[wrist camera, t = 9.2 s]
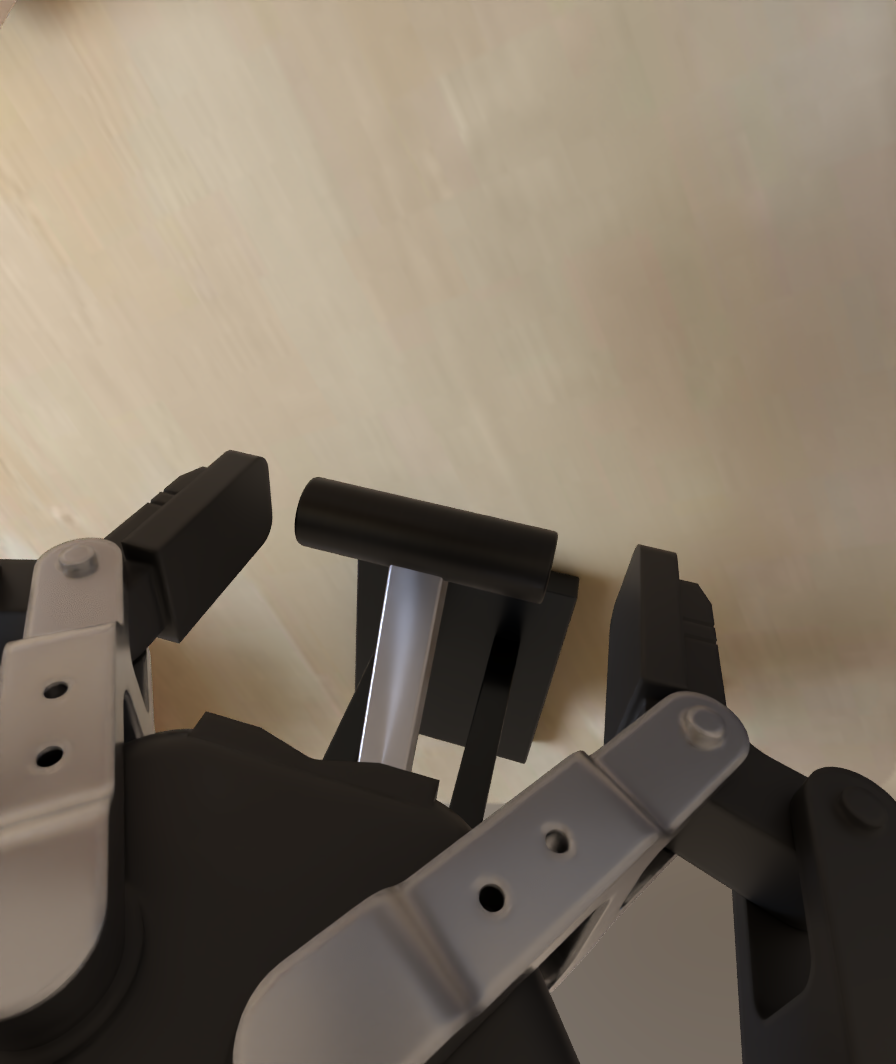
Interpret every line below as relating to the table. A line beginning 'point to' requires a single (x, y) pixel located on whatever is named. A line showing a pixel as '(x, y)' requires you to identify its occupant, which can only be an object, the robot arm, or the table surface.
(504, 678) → the bracket
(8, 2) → the faucet
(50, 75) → the table surface
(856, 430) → the table surface
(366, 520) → the lever
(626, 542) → the table surface
